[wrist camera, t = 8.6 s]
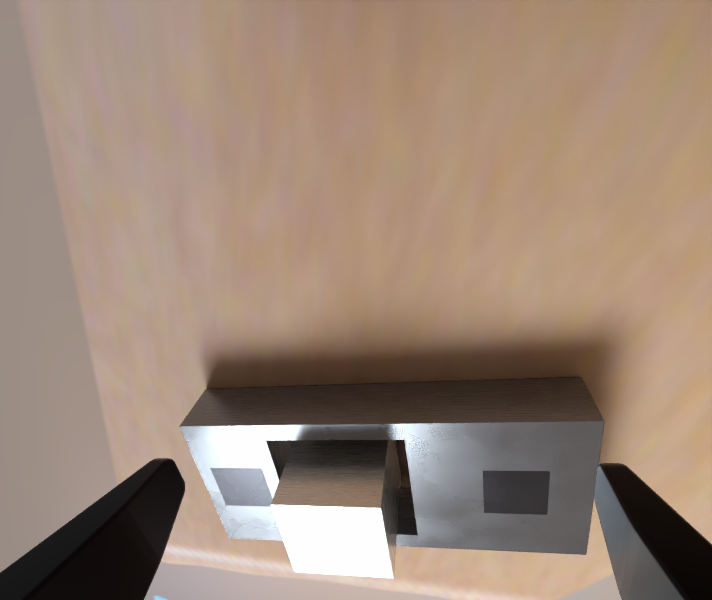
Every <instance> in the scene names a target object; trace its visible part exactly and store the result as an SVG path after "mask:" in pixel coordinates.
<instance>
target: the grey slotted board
mask: <svg viewBox="0 0 712 600" xmlns="http://www.w3.org/2000/svg"><path fill="white" fill-rule="evenodd" d="M179 427H180V429H181V431H182V433H183V436H184V438H185V440H186V442H187V445H188V447H189V449H190V451H191V454H192V456H193V458H194V460H195V463H196V465H197V467H198V469H199V472H200V474H201V476H202V478H203V481H204V483H205V485H206V487H207V490H208V492H209V494H210V496H211V499H212V501H213V503H214V505H215V508H216V510H217V512H218V514H219V517H220V519H221V521H222V523H223V526H224V528H225V530H226V532H227V535H228V537H229V538H236V539H258V540H279V541H283V538H282V535H281V533H280V530H279V527H278V524H277V521H276V519H275V516H274V513H273V510H272V507H271V502H272V500H273V497H274V494H275V491H276V489H277V486H278V483H279V481H280V478H281V475H282V472H283V470H284V467H285V464H286V462H287V459H288V456H289V454H290V451H291V448H292V445H293V443H294V440H405V447H406V454H407V461H408V468H409V475H410V482H411V488H400V495H399V510H398V524H397V539H396V546H409V547H430V548H452V549H474V550H495V551H517V552H538V553H560V554H581V555H586V553H587V546H588V538H589V531H590V524H591V516H592V509H593V501H594V491H595V483H596V476H597V469H598V465H599V457H600V450H601V442H602V435H603V428H604V420H603V418H602V416H601V414H600V412H599V410H598V408H597V406H596V404H595V402H594V400H593V399H592V397H591V395H590V393H589V391H588V389H587V387H586V385H585V383H584V381H583V379H582V377H572V378H541V379H509V380H477V381H445V382H413V383H381V384H349V385H317V386H285V387H254V388H222V389H206V390H205V391H204V393H203V394H202V395H201V397H200V398H199V400H198V401H197V402H196V404H195V405H194V407H193V408H192V409H191V411H190V412H189V414H188V415H187V416H186V418H185V419H184V421H183V422H182V423H181V425H180V426H179Z"/></svg>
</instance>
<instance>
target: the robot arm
mask: <svg viewBox="0 0 712 600" xmlns="http://www.w3.org/2000/svg"><path fill="white" fill-rule="evenodd" d="M184 492H185V482H184V479H183V477H182V475H181V473H180V472H179V470H178V468H177V466H176V464H175V462H174V461H173V460H172V459H169V458H157V459H154V460H152V461H150V462H149V463H147V464H146V465H145V466H143V467H142V468H141V469H139V470H138V471H137V472H135V473H134V474H133V475H131V476H130V477H129V478H127V479H126V480H125V481H123V482H122V483H120V484H119V485H118V486H116V487H115V488H114V489H112V490H111V491H110V492H108V493H107V494H106V495H104V496H103V497H102V498H100V499H99V500H98V501H96V502H95V503H94V504H92V505H91V506H89V507H88V508H87V509H85V510H84V511H83V512H82V513H80V514H79V515H77V516H76V517H75V518H73V519H72V520H71V521H69V522H68V523H67V524H65V525H64V526H63V527H61V528H60V529H59V530H57V531H56V532H55V533H53V534H52V535H50V536H49V537H48V538H46V539H45V540H44V541H42V542H41V543H40V544H38V545H37V546H36V547H34V548H33V549H32V550H30V551H29V552H28V553H26V554H25V555H24V556H22V557H21V558H19V559H18V560H17V561H16V562H14V563H13V564H11V565H10V566H9V567H7V568H6V569H5V570H3V571H2V572H0V600H144V598H145V596H146V594H147V592H148V589H149V587H150V585H151V583H152V580H153V578H154V576H155V574H156V571H157V569H158V566H159V564H160V562H161V559H162V556H163V554H164V551H165V548H166V545H167V542H168V539H169V537H170V534H171V531H172V528H173V525H174V522H175V519H176V516H177V513H178V510H179V507H180V504H181V502H182V499H183V496H184ZM594 497H595V504H596V508H597V512H598V516H599V519H600V523H601V527H602V531H603V534H604V538H605V542H606V546H607V549H608V553H609V557H610V560H611V564H612V568H613V572H614V575H615V579H616V582H617V586H618V589H619V593H620V596H621V599H622V600H712V544H711V543H710V542H709V541H707V540H706V539H705V538H704V537H703V536H702V535H701V534H700V533H699V532H698V531H697V530H696V529H694V528H693V527H692V526H691V525H690V524H689V523H688V522H687V521H686V520H685V519H684V518H683V517H681V516H680V515H679V514H678V513H677V512H676V511H675V510H674V509H673V508H672V507H671V506H670V505H668V504H667V503H666V502H665V501H664V500H663V499H662V498H661V497H660V496H659V495H658V494H656V493H655V492H654V491H653V490H652V489H651V488H650V487H649V486H648V485H647V484H646V483H645V482H643V481H642V480H641V479H640V478H639V477H638V476H637V475H636V474H635V473H634V472H633V471H632V470H630V469H629V468H628V467H627V466H625V465H624V464H620V463H602V464H600V465H599V466H598V469H597V476H596V483H595V491H594Z"/></svg>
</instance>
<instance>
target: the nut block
mask: <svg viewBox="0 0 712 600" xmlns="http://www.w3.org/2000/svg"><path fill="white" fill-rule="evenodd" d="M400 480H401V474H400V467H399V460H398V453H397V447H396V440H294V443H293V445H292V448H291V451H290V454H289V456H288V459H287V462H286V464H285V467H284V470H283V472H282V475H281V478H280V481H279V483H278V486H277V489H276V491H275V494H274V497H273V500H272V502H271V507H272V510H273V513H274V516H275V519H276V521H277V524H278V527H279V530H280V533H281V535H282V538H283V541H284V544H285V547H286V549H287V552H288V555H289V558H290V561H291V564H292V566H293V569H294V572H303V573H318V574H333V575H348V576H363V577H378V578H394V568H395V554H396V539H397V524H398V510H399V495H400Z"/></svg>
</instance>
